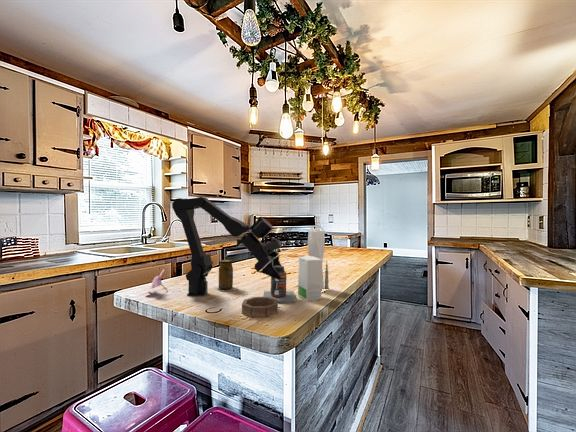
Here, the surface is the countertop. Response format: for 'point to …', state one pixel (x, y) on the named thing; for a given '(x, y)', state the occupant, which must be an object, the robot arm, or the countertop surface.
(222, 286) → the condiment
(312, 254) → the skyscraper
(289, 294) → the pad
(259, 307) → the collar ring
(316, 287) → the skincare box
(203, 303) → the countertop surface
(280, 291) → the supplement bottle
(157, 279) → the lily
